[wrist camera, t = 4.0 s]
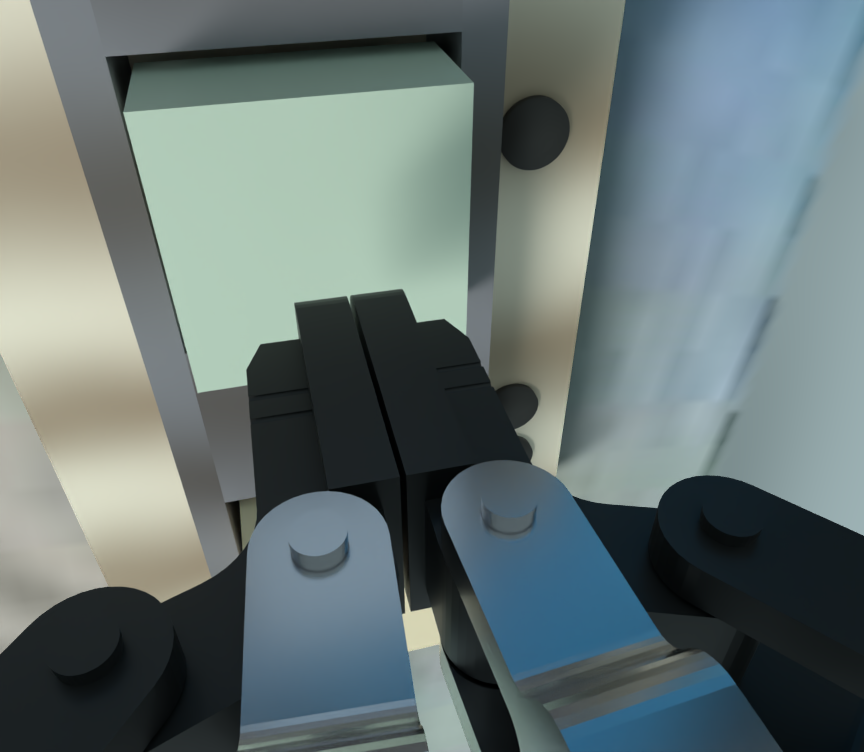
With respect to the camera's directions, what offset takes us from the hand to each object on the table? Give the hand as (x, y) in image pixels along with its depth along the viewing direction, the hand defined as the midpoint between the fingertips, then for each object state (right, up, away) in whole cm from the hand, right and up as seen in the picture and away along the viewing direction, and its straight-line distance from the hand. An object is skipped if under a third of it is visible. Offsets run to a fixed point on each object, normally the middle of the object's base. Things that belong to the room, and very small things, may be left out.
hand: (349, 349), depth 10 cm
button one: (-1, +3, +3) cm, 5 cm away
